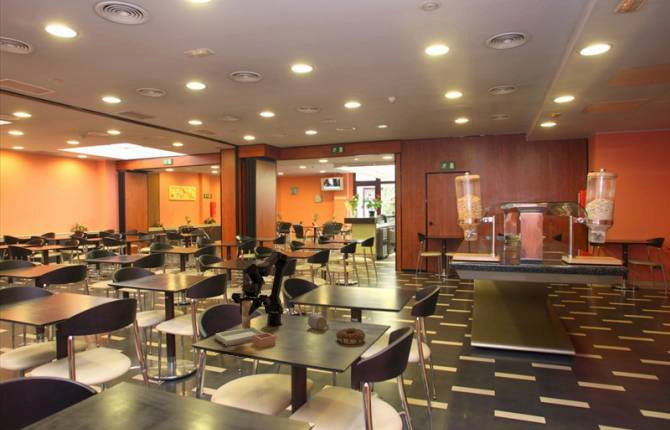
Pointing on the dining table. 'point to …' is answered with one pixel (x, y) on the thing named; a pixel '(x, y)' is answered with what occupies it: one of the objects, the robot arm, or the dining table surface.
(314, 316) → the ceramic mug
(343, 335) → the donut
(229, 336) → the tray
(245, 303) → the dowel
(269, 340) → the square frame
